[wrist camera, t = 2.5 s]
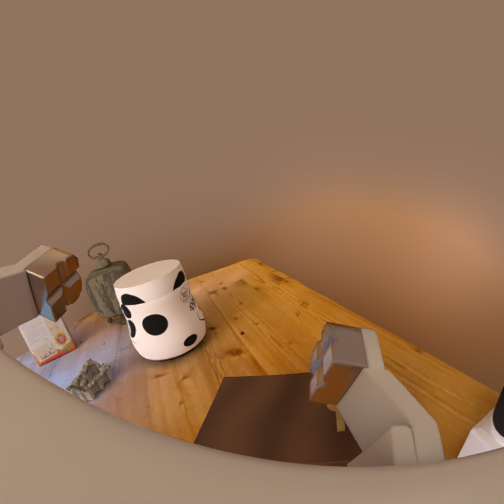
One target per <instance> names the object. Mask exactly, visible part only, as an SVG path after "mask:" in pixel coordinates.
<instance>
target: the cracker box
mask: <svg viewBox="0 0 504 504" xmlns="http://www.w3.org/2000/svg"><path fill="white" fill-rule="evenodd" d="M18 328H19V330H20V332H21V334H22V336H23V338H24V340H25V342H26V343H27V345H28V347H29V349H30V351H31V353H32V354H33V356H34V358H35V360H36V361H37V363H38V365H39V366H41V365H43V364H45V363H47V362H49V361H51V360H53V359H55V358H57V357H59V356H61V355H63V354H65V353H67V352H69V351H71V350H73V349H75V348H76V345H75V342H74V340H73V338H72V336H71V334H70V332H69V330H68V328H67V326H66V324H65V322H64V320H63V318H62V316H61V318H60V319H59V320H58V321H57V322H53V321H51V320H49V319H47V318H45V317H43V316H41V315H39V316H38V317H36V318H34V319H32V320H30V321H28V322H26V323H24V324H22V325H20V326H18Z"/></svg>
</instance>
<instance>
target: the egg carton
mask: <svg viewBox="0 0 504 504" xmlns="http://www.w3.org/2000/svg"><path fill="white" fill-rule="evenodd" d="M109 367H110V366H109V365H104V364H102V366H101V365H100V364H99V363H98V362H96V361H93V360H91V359H89V361H87V362H86V363H85V364H84V366H83V370H82V371H81V372H79V375H78V376H77V377H76V378H75V379H74V380H73V382H72V384H71V385H70V386H69V387H67V388H66V389H67V390H68V391H70V392H71V393H72V394H73V395H75V396H77V397H79V398H82V400H84V401H86V402H87V401H89V400H94V399H95V395H94V394H95V393H96V392H97V391H100V390H103V389H104V386H103V385H104V383H105V382H107V381H111V380H112V379H113V377H112V373H111V371H110V369H109Z"/></svg>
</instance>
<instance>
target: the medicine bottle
mask: <svg viewBox="0 0 504 504" xmlns="http://www.w3.org/2000/svg"><path fill="white" fill-rule="evenodd" d="M501 447H504V388H503V390H502V392H501V394H500V397H499V399H498V401H497V404H496V406H495V407H494V408H493V409H492V410H491V411H490V412H489V413H488V414H487V415H486V416H485V417H484V418H483V419H482V420H480V421H479V422H478V423H477V424H476V425H475V426H474V427H473V428H472V429H471V430H470V432H469V434H468V437H467V439H466V441H465V443H464V445H463V447H462V449H461V451H460V453H459V455H458V457H457V458H459V457H464V456H469V455H474V454H478V453H482V452H486V451H490V450H494V449H497V448H501Z"/></svg>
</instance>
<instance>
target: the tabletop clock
mask: <svg viewBox="0 0 504 504" xmlns="http://www.w3.org/2000/svg"><path fill="white" fill-rule="evenodd" d="M98 245H105V246H106V247H107V248H108V250H107V252H106V253H105V254H102V255H101V253H98V256H97V257H92V256H90V255H89V252H90V250H91V249H92V248H93V247H95V246H98ZM108 252H109V246H108V245H107V244H105V243H97V244H94V245H93V246H91V247H90V248H89V250H88V256H89V257H90V258H92V259H99V260H98V261H97V262H96V265H95V269H94V270H93V271H92V272H91V273H90V274H89V275H88V277H87V278H86V279H85V285H86V290H87V293H88V296H89V299H90V301H91V303H92V305H93V307H94V309H95V311H96V312H97V314H98V315H99V316H100V317H101V318H108V322H109V323H111V322H112V318H111V317H115V316H119V315H121V317H122V324H126V323H127V321H126V319H124V317H123V311H122V309H121V307H120V304H119V301H118V299H117V296H116V292H115V289H114V283H115V282H116V280H118V279H119V278H120V277H122V276H123V275H125V274H127V273H129V272H130V271H131V269H130V267H129V266H128V264H127V263H126V262H125V261H116V262H111V261H110V260H109V259H108V258H102V257H104V256H105V255H106V254H107V253H108Z"/></svg>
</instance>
